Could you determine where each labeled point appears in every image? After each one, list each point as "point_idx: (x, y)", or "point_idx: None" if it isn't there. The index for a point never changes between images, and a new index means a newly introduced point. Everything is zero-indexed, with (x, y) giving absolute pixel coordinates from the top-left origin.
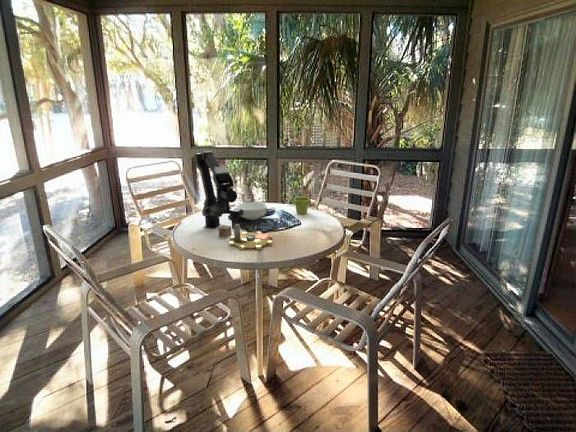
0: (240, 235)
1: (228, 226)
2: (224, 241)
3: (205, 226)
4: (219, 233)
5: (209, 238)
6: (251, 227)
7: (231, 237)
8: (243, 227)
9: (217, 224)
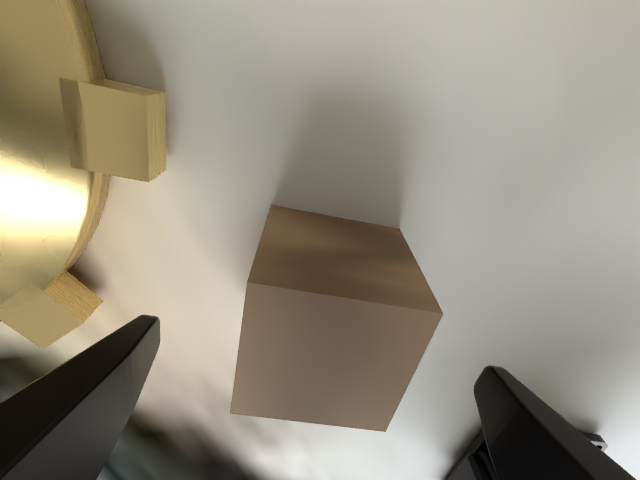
0: (13, 206)
1: (264, 393)
2: (245, 7)
3: (594, 441)
4: (399, 249)
5: (536, 126)
6: (131, 470)
7: (117, 89)
8: (206, 464)
9: (485, 428)
